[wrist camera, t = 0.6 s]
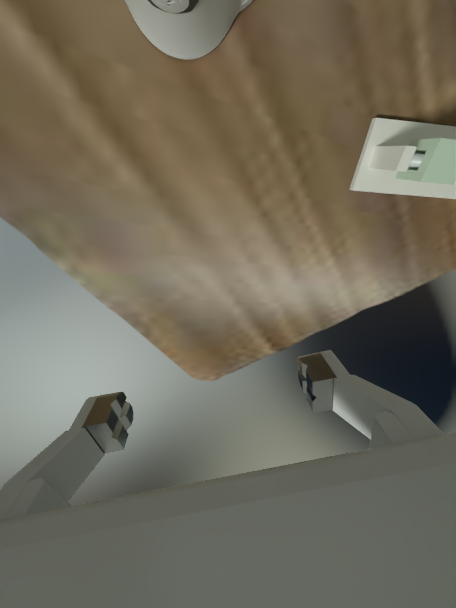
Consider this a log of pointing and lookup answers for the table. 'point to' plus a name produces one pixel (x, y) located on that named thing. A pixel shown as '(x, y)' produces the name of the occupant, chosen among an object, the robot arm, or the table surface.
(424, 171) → the sleeve
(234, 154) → the table surface
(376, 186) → the stand
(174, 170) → the table surface
